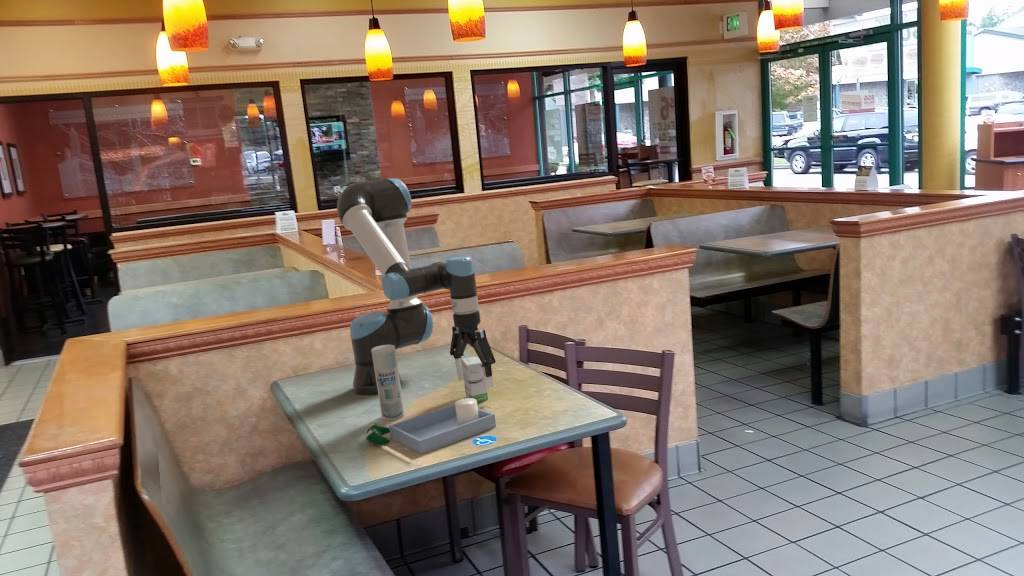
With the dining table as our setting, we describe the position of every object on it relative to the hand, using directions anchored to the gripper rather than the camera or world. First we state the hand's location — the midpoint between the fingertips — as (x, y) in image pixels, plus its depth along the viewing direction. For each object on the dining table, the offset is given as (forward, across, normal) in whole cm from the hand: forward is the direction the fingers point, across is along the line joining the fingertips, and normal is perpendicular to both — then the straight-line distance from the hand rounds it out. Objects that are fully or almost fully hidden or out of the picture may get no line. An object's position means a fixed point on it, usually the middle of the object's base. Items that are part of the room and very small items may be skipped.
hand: (475, 383), depth 218 cm
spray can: (+5, -8, -23) cm, 25 cm away
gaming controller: (+5, +5, -34) cm, 35 cm away
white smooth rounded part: (+4, +19, -15) cm, 24 cm away
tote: (+5, +16, -21) cm, 27 cm away
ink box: (+5, 0, 0) cm, 5 cm away
